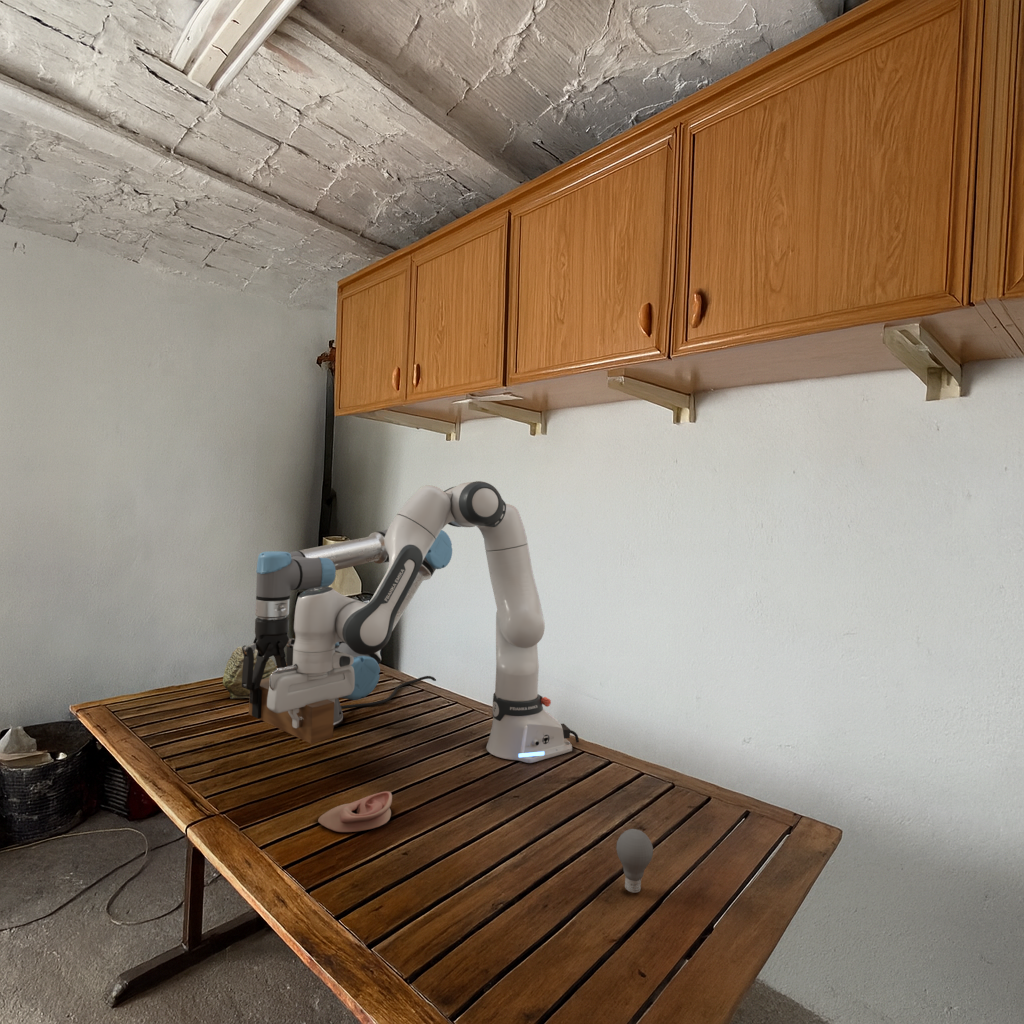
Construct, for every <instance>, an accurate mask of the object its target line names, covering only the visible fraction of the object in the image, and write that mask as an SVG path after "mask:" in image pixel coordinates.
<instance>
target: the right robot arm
mask: <svg viewBox="0 0 1024 1024" xmlns="http://www.w3.org/2000/svg"><path fill="white" fill-rule="evenodd" d="M447 525H449V526H452V527H454V528H455V527H456V528H474V527H476V528H477V529H478V530H479V532H480V533H481V536H482V538H483V542H484V543H483V544H484V550H485V556H486V561H487V567H488V572H489V573H488V574H489V578H490V583H491V587H492V592H493V597H494V601H495V605H496V614H495V666H496V667H495V682H494V683H495V684H494V693H493V696H492V707H491V708H492V709H491V710H492V722H491V729H490V733H489V736H488V741H487V744H486V746H485V749H486V751H487V752H488V753H489V754H490V755H493V756H494V757H497V758H499V759H500V758H501V759H505V760H509V761H510V760H511V761H519V762H523V763H527V764H533V763H536V762H540V761H543V760H546V759H551V758H553V757H557V756H560V755H563V754H567V753H571V752H573V745H572V743H571V741H570V740H568V739H570V738H571V734H572V735H573V736H574V738H575V743H576V744H577V743H579V742H580V740H579V735H578V733H577V732H575V730H572V729H570V728H569V727H568V726H567V725H566V724H565V723H561V722H560V721H559V720H558V719H556V717H554V716H553V715H552V714H551V713H550V712H548V711H547V710H546V709H545V708H544V707H547V708H548V707H550V706H551V704H552V700H551V699H550V698H548V697H546V696H542V695H540V694H539V672H540V663H539V650H538V643H539V642H541V640H542V638H543V637H544V634H545V629H546V625H545V624H546V623H545V619H544V613H543V609H542V604H541V599H540V595H539V592H538V587H537V583H536V579H535V575H534V570H533V566H532V560H531V554H530V553H531V552H530V548H529V543H528V537H527V533H526V529H525V525H524V522H523V519H522V517H521V514H520V511H519V509H518V508H517V507H515V506H514V505H512V504H509V503H506V502H505V501H504V499H503V498H502V496H501V493H500V492H499V490H498V489H497V488H496V486H494V485H492V484H491V483H489V482H486V481H481V480H476V481H468V482H463V483H460V484H458V485H455V486H451V487H449V488H447V489H445V490H443V489H441V488H440V487H438V486H435V485H428V484H426V485H422V486H420V487H419V488H418V489H417V490H416V491H415V492H414V493H413V494H412V495H411V496H410V497H409V498H408V499H407V501H406V502H405V503H404V504H403V505H402V506H401V508H400V509H399V511H398V512H397V514H396V515H395V516H394V518H393V519H392V520H391V522H390V523H389V526H388V528H387V529H388V530H387V529H386V530H387V533H386V535H385V538H384V544H385V548H386V551H387V553H388V556H389V562H388V566H387V570H386V572H385V574H384V576H383V577H382V579H381V581H380V583H379V585H378V586H377V589H376V590H375V592H374V593H373V596H372V597H371V599H370V600H369V601H367V602H364V601H361V600H358V599H355V598H351V597H349V596H346V595H344V594H342V593H341V592H338V591H337V590H335V588H333V587H331V586H328V587H326V586H324V587H314V588H310V589H304V590H303V591H302V592H301V593H299V595H298V596H297V599H296V604H295V609H294V618H293V619H294V620H293V631H294V635H295V638H294V639H295V643H294V646H293V665H290V666H287V667H280V668H277V667H276V668H277V669H276V671H274V672H273V673H272V674H271V675H270V680H269V685H270V686H269V691H268V697H267V707H268V709H269V710H270V711H272V712H274V713H282V712H286V711H288V713H289V715H290V716H291V718H292V726H293V727H294V728H299V727H302V726H303V724H302V723H303V719H301V718H299V717H298V715H297V713H299V708H301V707H305V706H306V705H307V704H311V703H315V702H319V701H323V700H327V699H328V700H330V701H333V702H334V704H335V699H336V698H338V699H341V698H340V697H344V696H348V695H351V694H352V692H353V690H354V685H355V675H354V669H353V667H352V666H351V665H352V664H353V662H354V657H353V656H351V655H348V654H346V653H342V652H339V651H335V644H336V643H337V642H339V643H342V641H343V642H345V643H346V644H347V645H348V646H349V647H350V648H351V649H352V650H353V651H354V652H356V653H358V654H362V655H369V654H373V653H376V652H378V651H379V650H381V651H382V649H384V648H385V646H386V645H387V644H388V642H389V641H390V639H391V636H392V633H393V631H392V629H393V624H394V620H395V617H396V614H397V612H398V610H399V608H400V606H401V604H402V602H403V601H404V599H405V597H406V595H407V593H408V591H409V589H410V588H411V586H412V584H413V582H414V580H415V578H416V576H417V574H418V572H419V570H420V567H421V565H422V562H423V560H424V558H425V556H426V554H427V553H428V551H429V549H430V548H431V546H432V544H433V543H434V541H435V540H436V538H437V536H438V535H439V533H440V531H441V530H443V529H444V528H445V527H446V526H447ZM393 630H394V629H393Z"/></svg>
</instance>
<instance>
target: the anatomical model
mask: <svg viewBox="0 0 1024 1024" xmlns="http://www.w3.org/2000/svg"><path fill="white" fill-rule="evenodd" d="M392 803H393V794H392V792H391V791H380V792H376V793H374V794H371V795H367V796H366V797H362V798H360V799H358V800H355V801H352V802H350V803H344V804H340V805H337V806H335V807H333V808H331V809H329V810H327V811H326V812H324V813H322V814H321V815H320V816H319V817H318V820H317V821H318V823H319V824H320V825H321V826H323V827H325V828H326V829H328V830H331V831H333V832H337V833H352V832H355V833H356V832H362V831H367V830H372V829H376V828H379V827H382V826H383V825H386V824H387V823H388V822H389V821H390V819H391V816H392V810H391V808H390V807H391V805H392Z"/></svg>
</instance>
